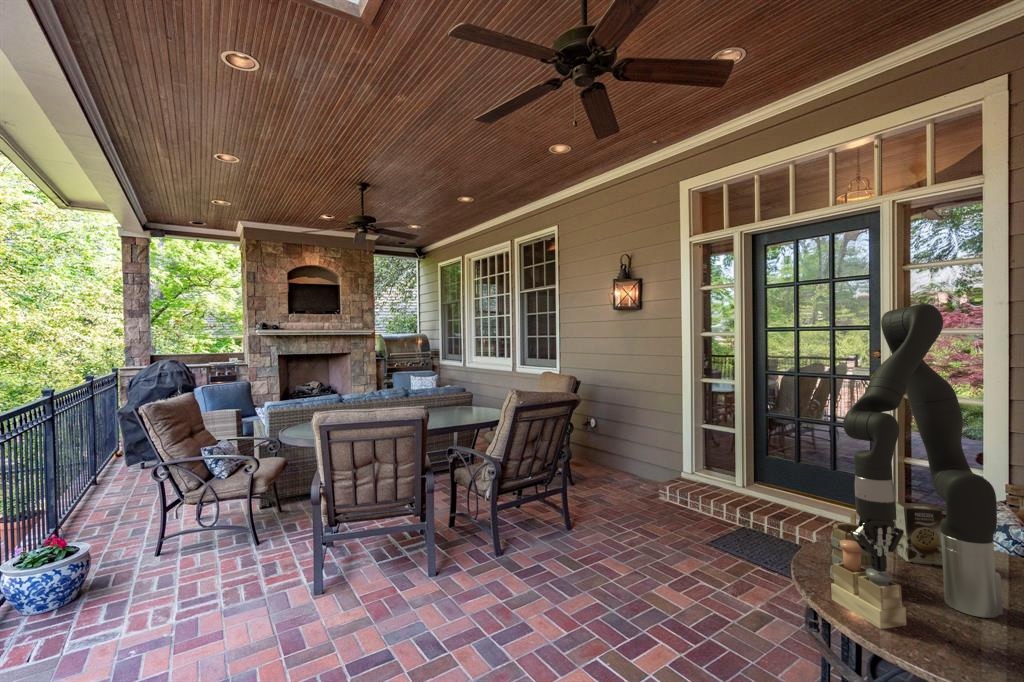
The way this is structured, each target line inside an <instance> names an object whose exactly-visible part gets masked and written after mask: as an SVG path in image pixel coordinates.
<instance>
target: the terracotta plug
mask: <svg viewBox="0 0 1024 682" xmlns="http://www.w3.org/2000/svg"><path fill="white" fill-rule="evenodd" d="M840 547H841V548H842V549H843V566H844V568H845V569H847V570H848V571H850V572H852V573H854V572H861V553H860V552H862V551H863V550H862V549H861V547H860V546H859V545H858V543H857V542H856V541H851V540H841V541H840Z"/></svg>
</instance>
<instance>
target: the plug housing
mask: <svg viewBox="0 0 1024 682" xmlns="http://www.w3.org/2000/svg"><path fill="white" fill-rule="evenodd" d="M832 565H833V572H834V580H833V583H830V584H831V585H830V589H831V590H830V591H831V600H832V601H834V602H835V603H837V604H838V605H840V606H842V607H844V608H845V609H846V610H848V611H850V612H851V613H853V614H855V615H857V617H860V618H861V619H863V620H865V621H866V622H869V624H872V625H873V626H875V627H877V628H878V629H880V630H884V629H890V628H891V629H892V628H896V627H905V626H907V612H906V611H907V609H906V607H905V606H903V601H902V600H903V599H902V585H900V584H899V583H898V582H897V583H896V582H894V581H893V580H891V582H889V586H881V587H880V586H878V585H876V584H874V583H872V582H870V581H869V578H868V577H867V576H866V570H867V569H866V568H864V567H862V566H861V572H854V573H852V572H850V571H848V570H847V569H845V568H844V566H843V563H836V564H834V563H832Z"/></svg>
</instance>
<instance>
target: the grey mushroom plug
mask: <svg viewBox="0 0 1024 682" xmlns="http://www.w3.org/2000/svg"><path fill="white" fill-rule="evenodd" d="M866 576H867V577H868V578H869V581H870V582H872V583H874V584H876V585H878V586H880V587H881V586H889V582H891V581H892V574H891V573H890V572H887V570H886V571H884V572H878V571H876V570H874V569H873V568H869V569H867V570H866Z"/></svg>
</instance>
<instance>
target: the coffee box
mask: <svg viewBox="0 0 1024 682" xmlns="http://www.w3.org/2000/svg"><path fill="white" fill-rule="evenodd" d="M895 502H896V501H895ZM942 520H943V510H941V509H940V508H937V507H935V506H933V505H932V504H928V503H927V504H926V503H925V504H924V503H912V502H911V503H909V502H900V501H899V502H898V501H897V502H896V527H897V528H899V529H902V530H903V531H904V534H903V535H902V537H901V539H900V541H899V543H898V545H897V554H898V555H899V556H900V557H901V558H902V557H903V558H902V559H903V560H905V561H906V562H907V561H908V562H907V563H910V562H913V563H912V564H922V565H932V564H934V566H943V561H942V544H941V529H940V522H941V521H942Z"/></svg>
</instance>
